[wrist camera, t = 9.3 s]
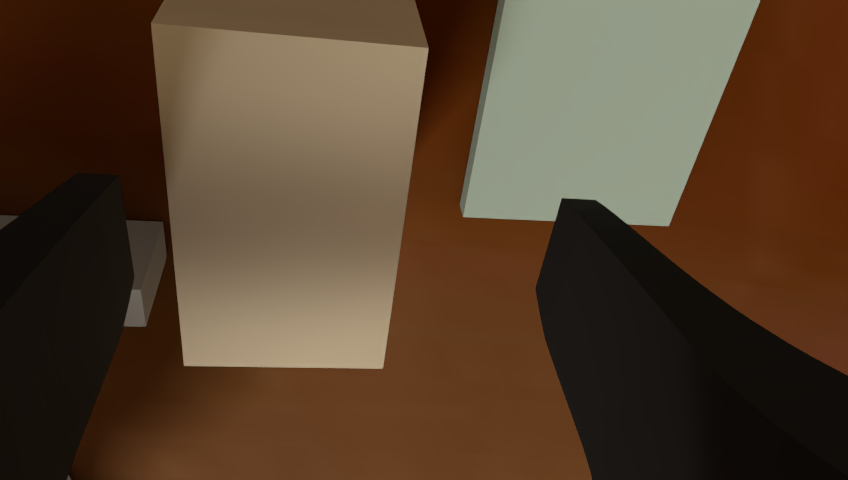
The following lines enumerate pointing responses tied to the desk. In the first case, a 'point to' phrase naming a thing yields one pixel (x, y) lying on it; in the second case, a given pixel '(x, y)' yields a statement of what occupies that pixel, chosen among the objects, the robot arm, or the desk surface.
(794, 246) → the desk surface
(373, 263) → the block
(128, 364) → the desk surface
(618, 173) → the mat
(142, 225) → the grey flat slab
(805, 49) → the desk surface
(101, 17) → the desk surface
